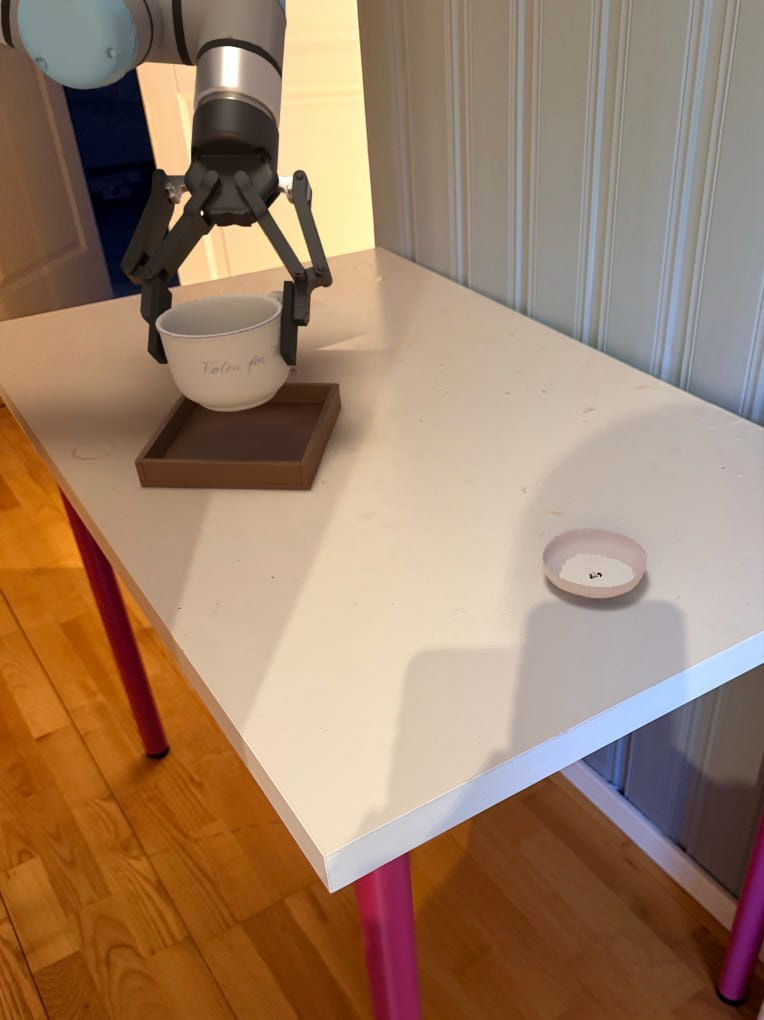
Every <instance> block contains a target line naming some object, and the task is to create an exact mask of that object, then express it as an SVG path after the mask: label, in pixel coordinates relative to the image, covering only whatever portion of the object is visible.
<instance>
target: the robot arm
mask: <svg viewBox="0 0 764 1020" xmlns="http://www.w3.org/2000/svg"><path fill="white" fill-rule="evenodd" d="M286 1H287V0H0V44H3V45H5V46H8V47H10V48H13V49H15V50H17V51H19V52H21V53H22V54H24V55H27V56H29V57H30V59H31V60H32V61H33V62H34V63H35V65H36V66H37V67H38V68H39V69H40V70H41V71H42V72H43V73H44V74H45V75H47V76H48V77H49V78H50V79H52V80H53V81H54V82H56V83H58V84H60V85H63V86H65V87H68V88H71V89H76V90H91V89H101V88H105V87H107V86H109V85H112V84H115V83H116V82H118V81H120V80H121V79H123V78H124V77H125V75H126V74H127V73H128V72H130V71H132V70H134V69H136V68H137V67H140V66H141V65H143V64H145V63H149V64H150V63H153V64H165V65H166V64H167V65H179V66H180V65H182V66H187V67H195V68H196V69H195V79H194V80H195V81H194V93H193V111H194V113H193V115H192V125H191V140H190V141H191V142H190V163H189V166H188V168H187V170H186V172H185V173H184V174H172V175H171V174H167V173H166V171H165V170H164V169H163V168H156V169H155V170H153V172H152V175H151V193H150V194H149V197H148V199H147V202H146V204H145V207H144V209H143V211H142V213H141V216H140V219H139V221H138V223H137V225H136V228H135V230H134V232H133V235H132V237H131V239H130V242H129V244H128V246H127V248H126V251H125V253H124V255H123V258H122V260H121V262H120V268H121V270H122V271H123V272H124V274H125V275H126V276H127V277H128V279H130V281H131V282H132V283H133V284H134V285H136V286H141V294H140V308H139V312H140V315H141V317H142V319H143V320H144V321H145V322H146V323H147V324H148V337H147V350H146V351H147V353H148V354H149V355H150V356H151V357H152V358H153V359H154V360H155V361H156V362H157V363H158V364H159V365H169V364H168V361H167V358H166V354H165V351H164V347H163V344H162V340H161V336H160V333H159V332H158V330H157V328H156V325H155V324H156V320H157V318H158V317H159V316H160V315H161V314H163V313H164V312H165V311H167V310H169V309H171V308H173V306H172V305H173V293H172V291H171V290H170V289H169V288H168V287H167V285H168V284H169V283H170V281H171V280H172V278H173V277H174V276H175V274H177V272H178V270H179V269H180V268H181V267H182V265H183V264H184V262H185V261H186V259H187V258H188V257H189V255H190V254H191V253H192V252H193V251H194V249H195V248H196V246H197V244H199V242H200V241H201V239H202V238H203V236H207V235H209V234H210V232H211V231H212V230H213V229H214V227H215V226H216V227H218V228H221V227H223V228H226V227H230V226H238V227H242V228H252V225H254V224H256V223H257V224H258V226H259V227H260V229H261V231H262V233H263V234H264V236H265V237H266V238H267V240H268V241H269V243H270V245H271V247H272V248H273V250H274V251H275V253H276V255H277V256H278V257H279V259H280V261H281V263H282V264H283V266H284V268H285V270H286V271H287V272H288V274H289V275H290V277H291V278H292V280H283V287H282V292H283V305H282V304H281V305H282V324H281V343H280V354H281V356H282V357H283V359H284V361H285V362H286V364H287V366H290V367H296V366H297V355H298V338H299V337H298V336H299V334H298V333H299V327H308V325H309V323H310V321H311V298H312V293H313V291H314V290H315V289H318V288H321V287H322V288H330V287H331V286H332V285H333V282H334V281H333V280H334V279H333V276H332V273H331V270H330V266H329V263H328V260H327V256H326V254H325V250H324V247H323V243H322V241H321V238H320V233H319V231H318V228H317V225H316V224H317V223H316V221H315V218H314V214H313V212H312V211H313V210H312V204H313V203H312V201H313V189H312V186H311V183H310V181H309V177H308V176H307V173H306V172H305V171H304V169H297V170H295V171H294V172H293V174H292V175H279V174H278V169H279V168H278V166H279V147H280V131H279V128H280V124H281V123H280V122H281V107H282V93H283V70H284V69H283V68H284V57H285V43H286V42H285V41H286V31H287V25H288V20H287V11H286V9H287V4H286V3H287V2H286ZM187 192H189V194H190V197H189V198H188V200H187V202H186V203H185V204H184V206H183V208H182V209H183V210H182V214H181V215H180V217H179V218H178V219H177V221H176V222H175V224H174V225H173V226H172V227H171V229H170V230H169V231H168V233H167V234H166V232H167V230H168V228H169V225H170V223H171V221H172V218H173V216H174V212H175V208H176V205H179V204H180V203H181V198H182V195H183V194H185V193H187ZM281 194H285V197H286V199H287V201H288V203H289V204H292V205H293V206H294V209H295V212H296V213H295V214H296V217H297V219H298V222H299V225H300V229H301V232H302V235H303V239H304V242H305V246H306V249H307V252H308V256H309V259H310V261H311V265H312V266H309V267H307V268H305V266H303V264H302V263H301V261H300V259H299V258H298V256H297V254H296V253H295V251H294V250H293V247H292V246H291V244H290V243H289V241H288V239H287V238H286V236H285V235H284V233H283V231H282V230H281V228H280V227H279V225H278V224H277V222H276V220H275V218H274V216H272V213H271V212H270V210H269V209H270V207H272V205H273V204H274V203H275V202H276V201H277V200H278V198H279V197H280V195H281ZM202 213H203V214H202Z"/></svg>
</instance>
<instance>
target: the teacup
mask: <svg viewBox="0 0 764 1020" xmlns="http://www.w3.org/2000/svg"><path fill="white" fill-rule="evenodd" d="M282 305H283V290H273V291H271V292H269V293H268V294H267V295H263V294H256V293H255V294H254V293H244V292H243V293H226V294H225V293H224V294H222V295H220V294H219V295H210V296H206V297H202V298H197V299H192V300H189V301H185V302H183V303H180V304H177V305H175V306H172V308H171V309H169V310H167V311H165V312H164V313H163V314H161V315H160V316H159V317H158V318H157V320H156V324H155V325H156V328H157V330H158V332H159V333H160V336H161V340H162V344H163V347H164V351H165V354H166V358H167V361H168V364H167V365H168V367H169V370H170V373H171V376H172V379H173V381H174V383H175V385H176V387H177V389H178V390H179V391H180V392H181V394H182V393H183V394H184V395H185V396H186V397H187V398H189V399H191V400H192V401H194V402H197V403H199V404H201V405H202V406H203V407H205V408H207V409H210V410H214V411H223V412H232V411H240V410H245V409H249V408H253V407H256V406H259V405H261V404H263V403H265V402H267V401H269V400H270V399H271V398H272V397H273V396H274V395H275V394H276V392H277V390H278V389H279V388H280V387H281V386H282V385H283V384H284V383H286V381H287V379H288V377H289V374H290V369H291V368H290V367H291V366H287V364H286V362H285V361H284V359H283V357H282V356H281V354H280V343H281V324H282Z"/></svg>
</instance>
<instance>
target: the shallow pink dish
mask: <svg viewBox="0 0 764 1020" xmlns="http://www.w3.org/2000/svg"><path fill="white" fill-rule="evenodd" d="M579 553H582V554H586V553H589V555H597V554H600V556H601V557H603V556H606V558H610V559H617V560H619V561H621V562H622V563H624V564H625V563H626V564H627V566H630V567H631V568H632V571H633V574H632V575H634V574H635V576H634V578H633V579H632V580H631V581H630V582H628V583H625V584H622V585H618V586H612V587H593V586H586V585H581V584H577V583H573V582H570V581H567V580H565V579H562V578H560V575H559V573H560V572H561V571H562V565H565V564H566V561H567V559H569V560H570V559H571V558H573V557H575V556H576V555H577V554H579ZM647 562H648V556H647V552H646V550H645V549H644V547H643V546H642V545H641V544H640V543H639V542H637V541H636V540H634V539H633V538H630V537H629V536H626V535H624V534H621V533H618V532H616V531H615V532H614V531H610V530H605V529H599V528H577V529H571V530H567V531H565V532H561V533H560V534H558V535H556V536H555V537H553V538H552V539H551V540H550V541H549V542H548V543H547V544H546V546H545V548H544V550H543V552H542V568H543V571H544V574H545V576H546V577H547V578H548V580H549V581H550V582H551V583H552V584H553V585H554V586H556V587H557V588H559V589H560V590H563V591H565V592H567V593H569V594H572V595H573V594H574V595H576V596H580V597H585V598H591V599H607V598H608V599H609V598H614V597H617V596H622V595H623V594H626V593H628V592H630V591H631V590H633V589H635V587H636V586H637V585H638V584H639V582H640V581H641V580H642V578H643V576H644V575H645V571H646V568H647V564H648V563H647ZM589 575H590V578H591V579H593V578H596V577H598V575H600V577H601V576H602V574H601V573H599V572H598V573H596V572H592V573H590V574H589Z"/></svg>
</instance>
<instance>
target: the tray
mask: <svg viewBox="0 0 764 1020" xmlns="http://www.w3.org/2000/svg"><path fill="white" fill-rule="evenodd" d="M341 407H342V401H341V392H340V384H339V382H337V383H336V382H335V383H332V382H331V383H329V382H284V384H283V385H282V386H281V387H280V388H279V389H278V390H277V392H276V394H275V395H274V396H273V397H272V398H271V399H270V400H269V401H267V402H265V403H263V404H261V405H259V406H256V407H253V408H249V409H245V410H240V411H232V412H223V411H214V410H210V409H207V408H205V407H203V406H202V405H201V404H199V403H197V402H194V401H192V400H191V399H189V398H187V397H186V396H185V395H184V394H183V393H182V392H181V394H180V396H179V398H178V399H177V401H176V402H175V403H174V405H173V406H172V407H171V409H170V410H169V412H168V413H167V415H166V416H165V417H164V419H163V420H162V422H161V423H160V424H159V426H158V427H157V429H155V432H154V433H153V434H152V436H151V437H150V438H149V440H148V441H147V443H146V444H145V446H144V447H143V449H142V450H141V451H140V453H138V455H137V457H136V458H135V460H134V466H135V469H136V473H137V476H138V480H139V484H140V486H141V487H156V488H157V487H158V488H159V487H162V488H205V489H206V488H212V489H220V488H221V489H252V490H253V489H254V490H255V489H258V490H260V489H262V490H263V489H264V490H306V491H307V490H311V488H312V485H313V482H314V480H315V476H316V474H317V471H318V468H319V466H320V463H321V460H322V458H323V455H324V453H325V450H326V447H327V444H328V442H329V439H330V436H331V434H332V431H333V429H334V427H335V423H336V421H337V418H338V416H339V413H340V410H341Z"/></svg>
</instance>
